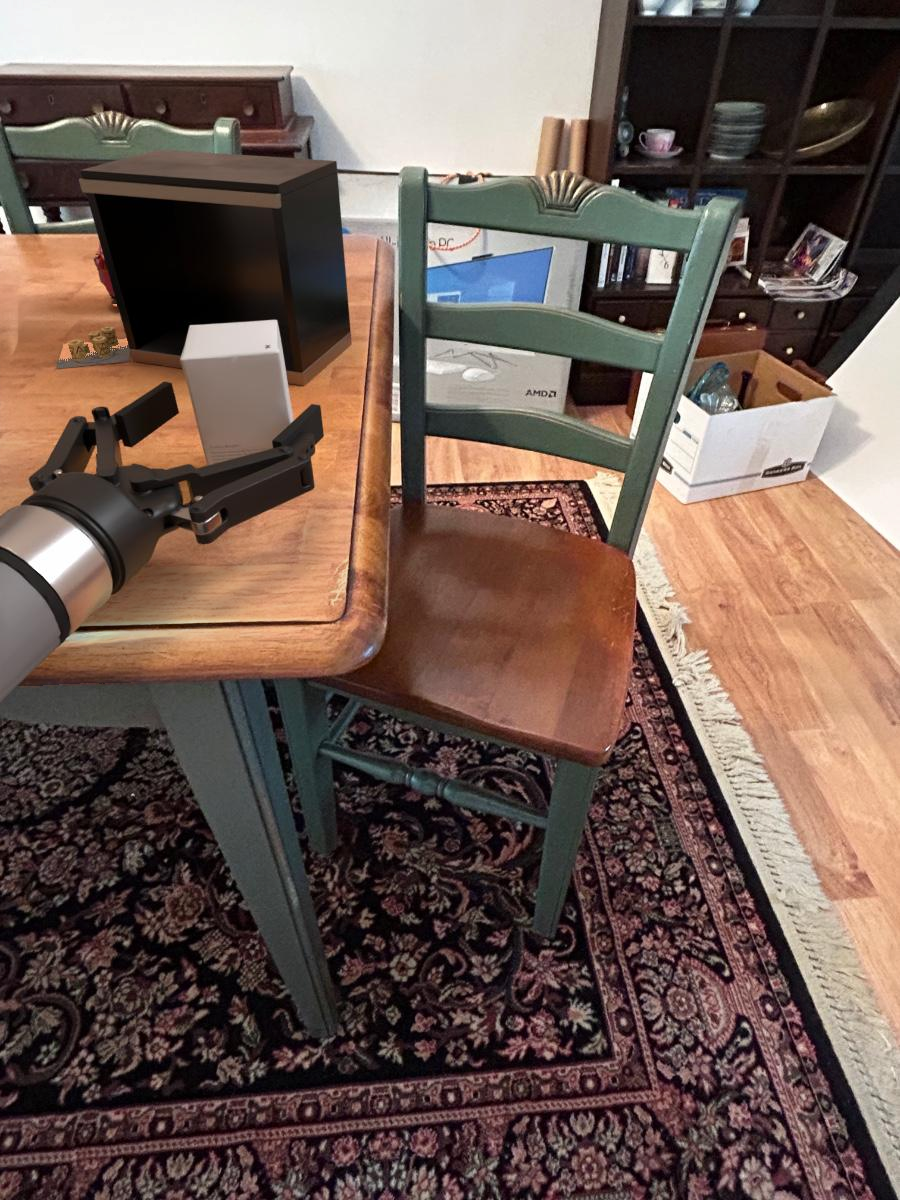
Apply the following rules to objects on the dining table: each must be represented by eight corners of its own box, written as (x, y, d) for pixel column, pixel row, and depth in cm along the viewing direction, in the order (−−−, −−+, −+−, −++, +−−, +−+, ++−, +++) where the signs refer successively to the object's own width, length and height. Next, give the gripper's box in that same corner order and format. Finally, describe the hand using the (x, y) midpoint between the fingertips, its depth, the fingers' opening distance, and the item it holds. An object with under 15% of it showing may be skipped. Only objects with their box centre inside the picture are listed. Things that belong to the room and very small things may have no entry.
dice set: (119, 341, 90) (114, 326, 89) (116, 357, 86) (111, 341, 85) (74, 346, 89) (69, 330, 88) (70, 361, 85) (65, 345, 84)
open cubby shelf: (130, 363, 85) (75, 171, 72) (195, 324, 95) (157, 149, 82) (302, 388, 80) (275, 186, 67) (351, 344, 90) (336, 160, 77)
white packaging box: (300, 454, 68) (281, 317, 60) (301, 496, 63) (280, 351, 55) (219, 460, 68) (188, 322, 59) (213, 504, 62) (178, 357, 54)
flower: (85, 308, 94) (109, 254, 91) (77, 274, 99) (99, 221, 96) (159, 338, 101) (183, 288, 97) (147, 304, 106) (170, 256, 102)
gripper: (-68, 564, 50) (127, 428, 66) (256, 641, 44) (386, 472, 60) (-123, 467, 45) (102, 345, 61) (233, 540, 40) (380, 384, 55)
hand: (243, 408), depth 60 cm, fingers open, 13 cm apart
